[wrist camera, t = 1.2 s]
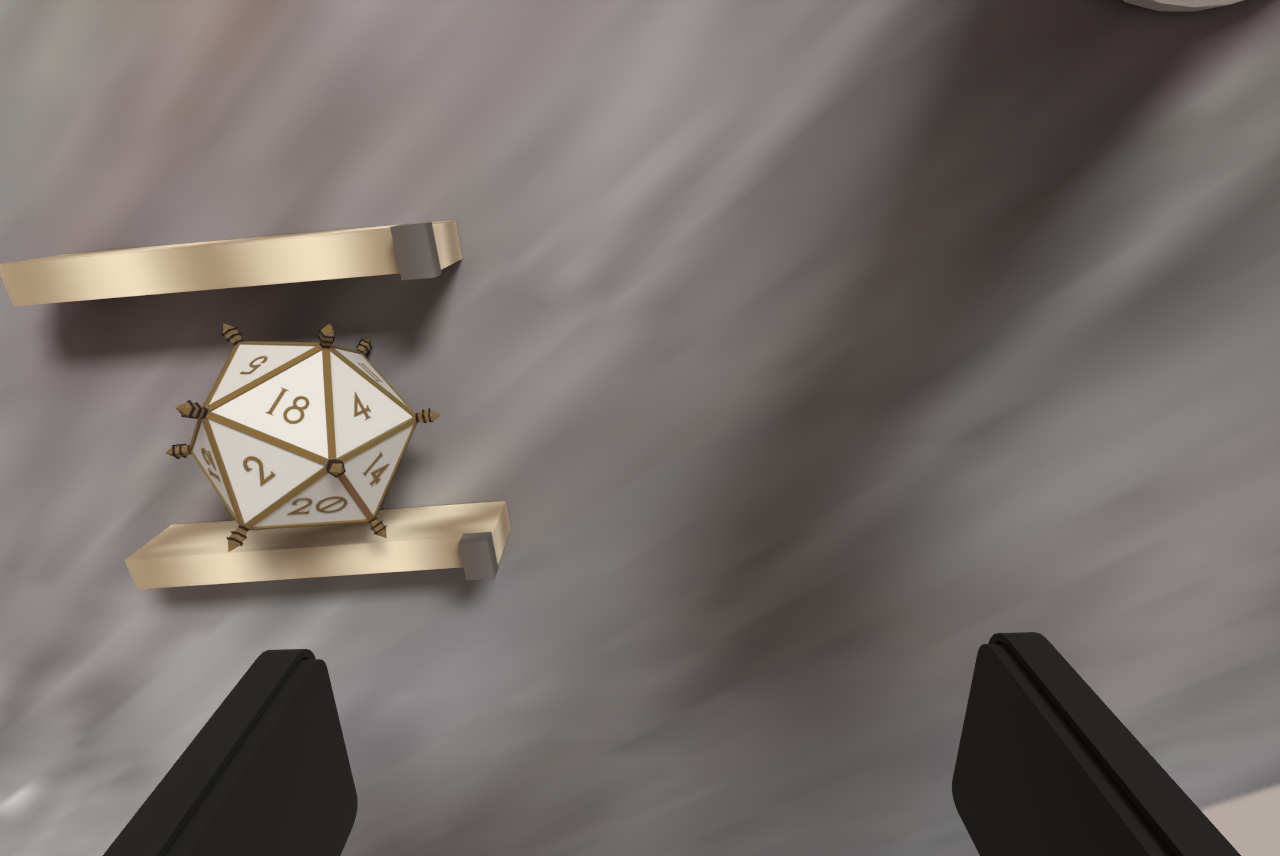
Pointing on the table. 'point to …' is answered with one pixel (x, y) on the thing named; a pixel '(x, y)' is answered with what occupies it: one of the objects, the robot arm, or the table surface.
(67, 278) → the parallel beige rails
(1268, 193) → the table surface
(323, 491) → the game die
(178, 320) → the table surface
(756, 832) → the table surface
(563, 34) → the table surface
